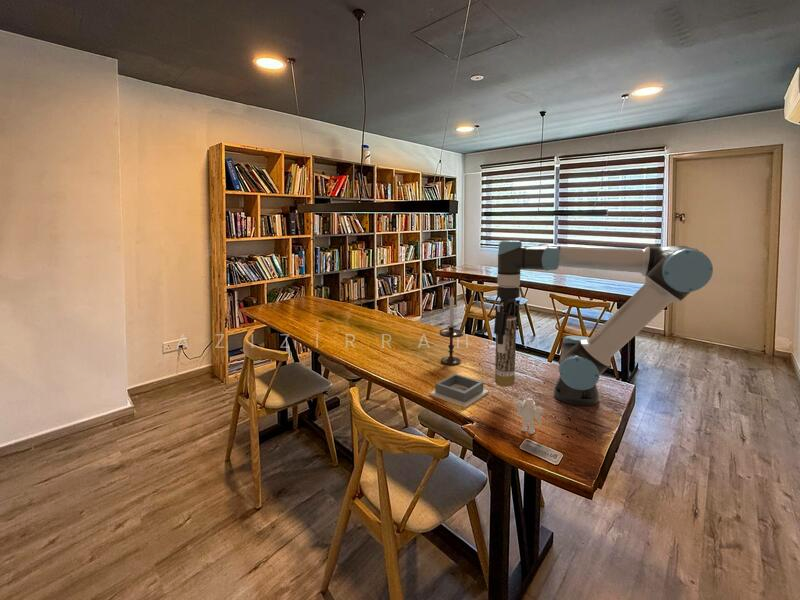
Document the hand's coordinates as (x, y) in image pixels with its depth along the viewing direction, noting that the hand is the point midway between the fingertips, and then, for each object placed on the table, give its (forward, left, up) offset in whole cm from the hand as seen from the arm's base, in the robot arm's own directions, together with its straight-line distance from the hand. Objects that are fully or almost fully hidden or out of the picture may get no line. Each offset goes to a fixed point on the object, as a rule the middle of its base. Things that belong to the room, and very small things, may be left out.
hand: (506, 349), depth 140 cm
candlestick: (+37, -20, -20) cm, 47 cm away
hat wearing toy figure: (-16, +14, -20) cm, 29 cm away
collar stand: (+15, +6, -20) cm, 26 cm away
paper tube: (0, 0, -13) cm, 13 cm away
